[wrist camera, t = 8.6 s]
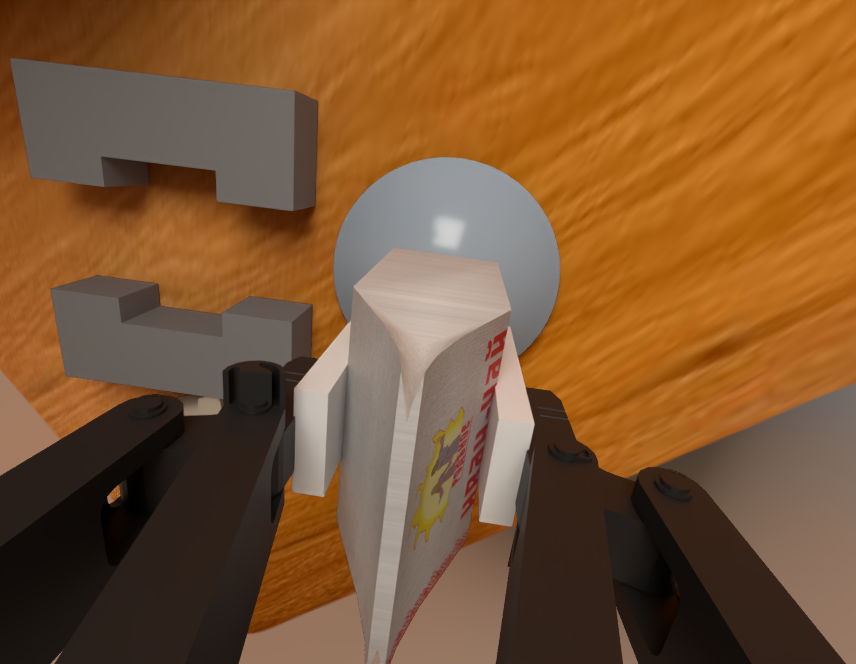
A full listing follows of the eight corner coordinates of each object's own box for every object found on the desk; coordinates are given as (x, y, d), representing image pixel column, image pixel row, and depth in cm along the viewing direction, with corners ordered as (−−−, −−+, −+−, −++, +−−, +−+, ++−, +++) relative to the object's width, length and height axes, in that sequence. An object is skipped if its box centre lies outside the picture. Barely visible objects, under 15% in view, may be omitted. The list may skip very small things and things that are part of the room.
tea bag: (377, 414, 18) (279, 664, 9) (394, 247, 16) (285, 350, 7) (467, 428, 18) (464, 698, 9) (497, 262, 16) (534, 388, 7)
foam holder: (69, 72, 25) (9, 57, 22) (318, 101, 25) (294, 90, 21) (108, 354, 31) (65, 376, 28) (310, 383, 30) (290, 409, 27)
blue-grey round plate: (343, 144, 25) (338, 143, 24) (579, 172, 25) (584, 172, 24) (333, 359, 30) (329, 365, 29) (533, 387, 29) (535, 394, 28)
